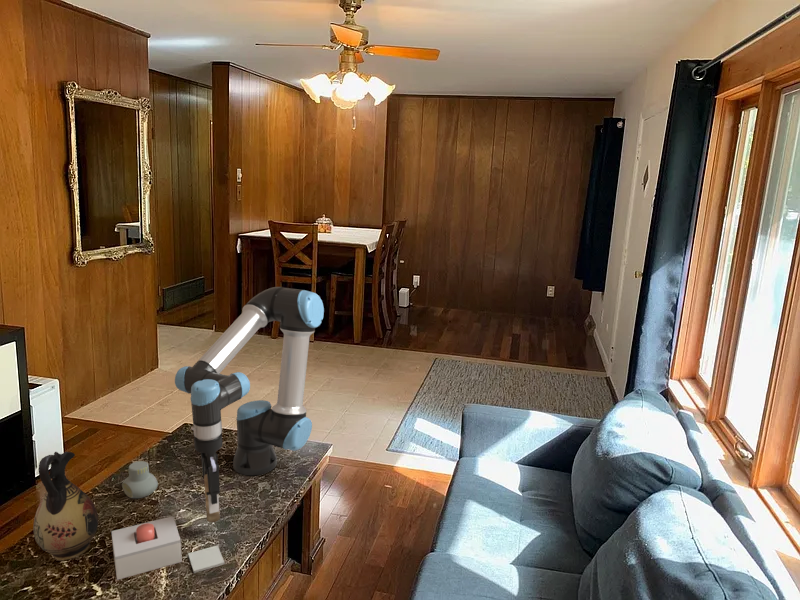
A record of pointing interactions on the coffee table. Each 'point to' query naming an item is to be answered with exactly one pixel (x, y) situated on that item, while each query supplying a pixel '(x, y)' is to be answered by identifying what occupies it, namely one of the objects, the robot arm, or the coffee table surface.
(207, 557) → the pad
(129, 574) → the box
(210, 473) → the robot arm
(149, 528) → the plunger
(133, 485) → the air freshener
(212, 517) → the tan wooden rod
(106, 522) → the coffee table surface
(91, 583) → the coffee table surface
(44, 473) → the ceramic jug
